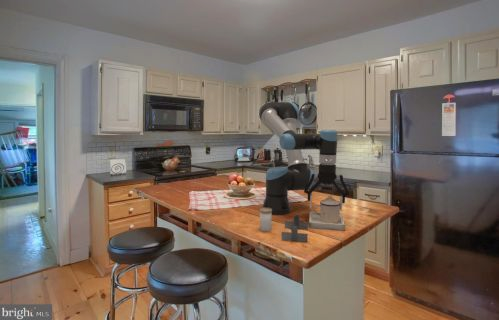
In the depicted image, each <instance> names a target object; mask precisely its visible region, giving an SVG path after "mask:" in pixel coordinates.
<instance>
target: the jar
mask: <svg viewBox="0 0 499 320" xmlns="http://www.w3.org/2000/svg"><path fill="white" fill-rule="evenodd" d="M272 215H273V214H272V209H271V208H263V207H260V208H259V230H260V231H261V232H270V230H271V231H272V218H273V217H272Z"/></svg>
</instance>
